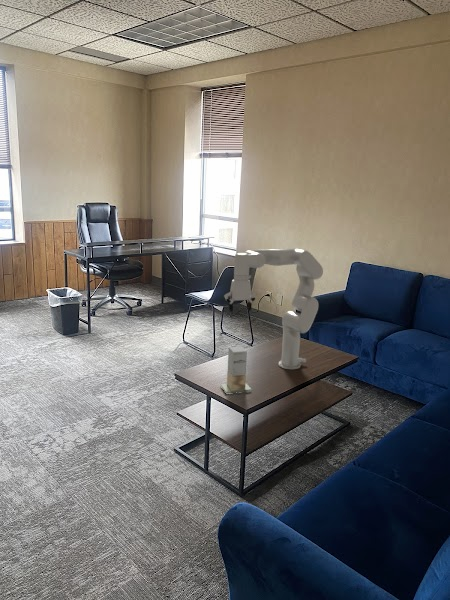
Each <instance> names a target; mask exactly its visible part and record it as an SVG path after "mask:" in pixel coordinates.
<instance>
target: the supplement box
mask: <svg viewBox="0 0 450 600" xmlns="http://www.w3.org/2000/svg"><path fill="white" fill-rule="evenodd" d="M227 353H228V355H227V357H228V358H227V371H228V372H229V373H230V374H231V376H239V375H245V376H247V374H246V373H247V360H248V359H247V358H248V357H247V356H248V354H247V353H248V351H247V349H246V348H244V346H231V347H228V351H227Z"/></svg>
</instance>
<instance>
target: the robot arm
mask: <svg viewBox="0 0 450 600" xmlns="http://www.w3.org/2000/svg"><path fill="white" fill-rule="evenodd" d="M233 263H234V264H233V265H234V267H233V269H234V270H233V279H232V280H231V285H230V291H229V292H226V293H225V294H224V295H223V297H224V298H225V301H226V302H227V303H228V310H229V311H230V312H232V313H233V312H234V304H233V303H234V302H235V301H247V305H246V306H247V307H246V309H247V310H248V311H251V310H252V307H253V305H252V304H253V302H254V301H255V300H256V298H257V296H258V294H257V293H256V292H253V291H252V288H251V287H252V285H251V281H250V279H251V278H252V275H251V274H250V268H254V269H260V268H262V267H264V266H265V265H269V266H274V267H275V266H276V267H278V266H279V267H281V266H282V267H283V266H290V265H291V266H292V265H296V266H295V267H296V273H297V275H298V276H297V277H298V280H299V282H298V283H299V284H298V286H297V289H296V291H295V294H294V296H293V298H292V302H291V306H292V308H293V309H294V310H296V311H294V310H288V311H286V312H284V314H283V315H282V317H281V319H282V320H281V323H282V333H283V334H282V345H281V347H282V348H281V359H280V360H279V361H278V366H279V367H280V368H282V369H285V370H298V369H300V368H301V366H302V364H301V363H306V362H307V358H302V357H299V355H300V344H301V334H306V333H307V332H308V331H309V330H310V329H311V327H312V324H313V323H314V321H315V318H316V315H317V314H318V311H319V301H318V300H317V298H315V297H313V292H314V289H315V280H319V279H321V278H322V276H323V274H324V269H323V267H322V265H321V263H320V262H319V261H318V260H317V259H316V258H315V256H314V255H313V254H312V253H311V252H310V251H308V250H306V249H301V248H293V247H291V248H282V249H280V248H279V249H249V250H246V251H244V252H238V253H235V255H234V262H233ZM229 298H230V299H229ZM297 311H299V312H300V313H299V312H297Z"/></svg>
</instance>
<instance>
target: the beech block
mask: <svg viewBox="0 0 450 600" xmlns="http://www.w3.org/2000/svg"><path fill="white" fill-rule="evenodd" d="M226 371H227V374H226V375H227V377H226V384H227V385H228V386H229V388H230V389H231V390H232V391H233V390H243V389H245V385H246V384H247V381H246V380H247V375H239V376H231V374H230V373H229V372H228V370H226Z"/></svg>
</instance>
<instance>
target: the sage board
mask: <svg viewBox="0 0 450 600" xmlns="http://www.w3.org/2000/svg"><path fill="white" fill-rule="evenodd" d="M221 386H222V388H223V389H224V391H225V392H226V393H236V392H237V393H238V392H247V393H252V388H251V387H250V386H249V384H248V383H246V385H245V389H243V390H233V391H232V390H231V389H230V388H229V386H228V385H227V383H221V384H220V387H221ZM222 388H221V389H222ZM224 391H223V392H224ZM238 394H239V393H238Z"/></svg>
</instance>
